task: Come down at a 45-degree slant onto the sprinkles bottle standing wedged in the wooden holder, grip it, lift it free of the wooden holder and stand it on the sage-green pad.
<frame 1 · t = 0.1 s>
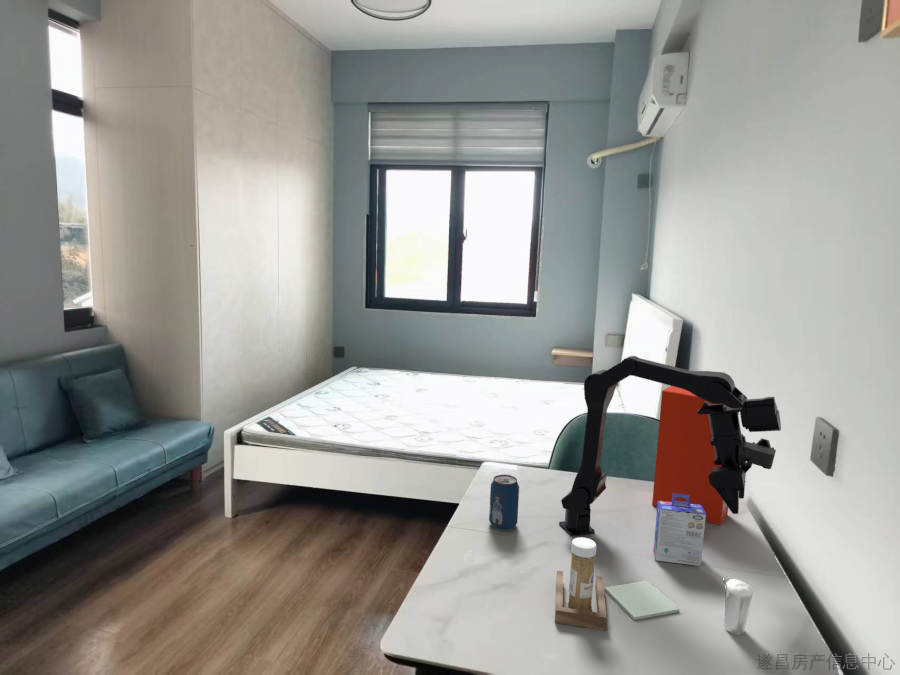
hand: (738, 505, 124), 15 cm above the table, tool pointing down, fingers open, 9 cm apart
milkshake: (731, 630, 108), on the table
sprinkles bottle: (579, 609, 113), resting in wooden holder
ink cartridge box: (676, 558, 133), on the table
pad: (640, 600, 116), on the table
soda can: (502, 526, 145), on the table
wooden holder: (579, 608, 113), on the table
red box: (688, 511, 158), on the table
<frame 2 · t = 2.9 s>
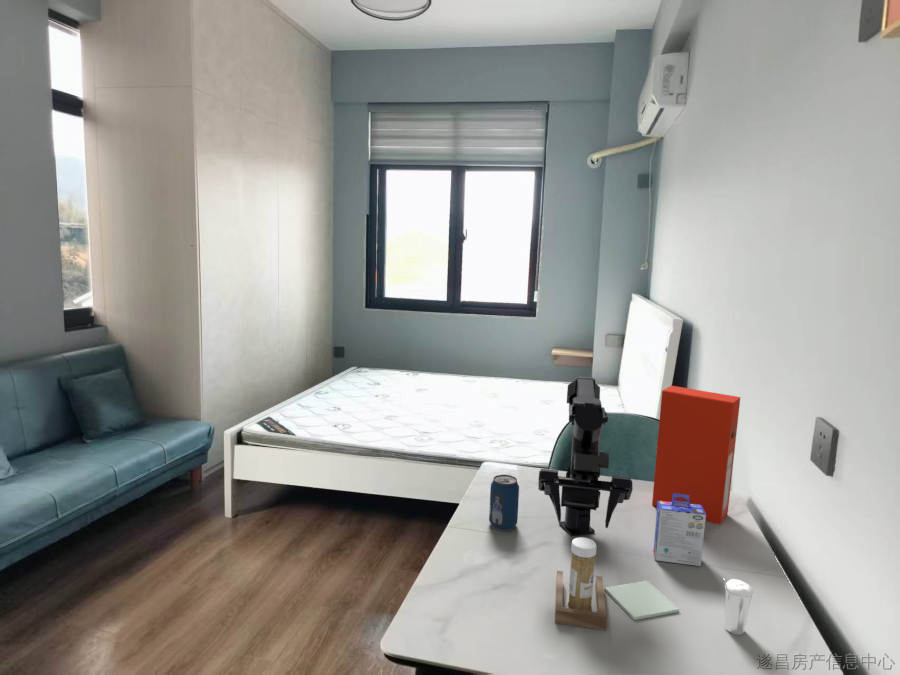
hand: (582, 524, 118), 13 cm above the table, tool tilted 45°, fingers open, 9 cm apart
nothing on the table moved.
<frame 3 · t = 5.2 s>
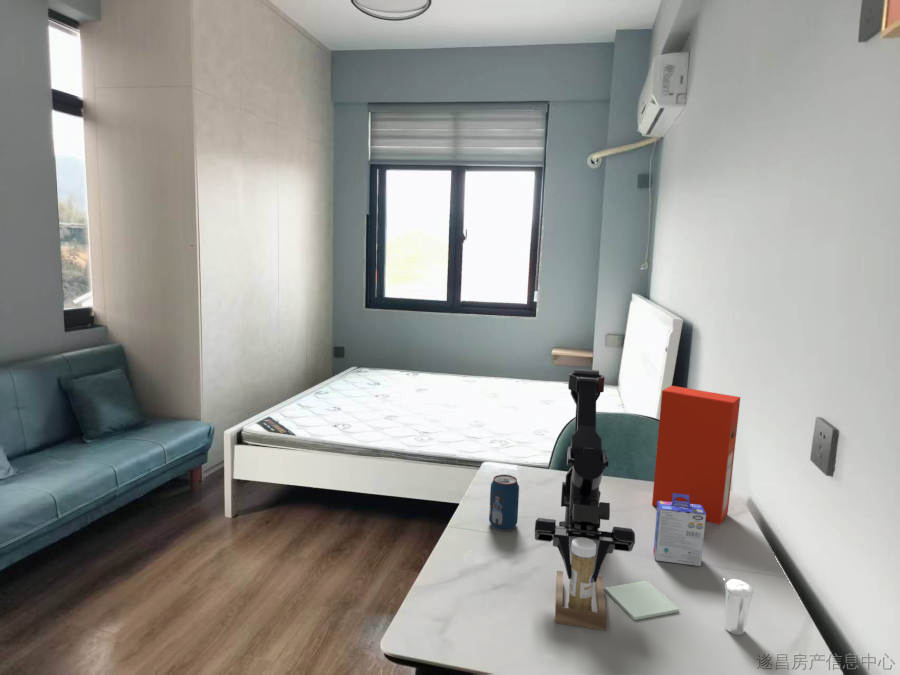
hand: (582, 580, 110), 7 cm above the table, tool tilted 45°, fingers closed on sprinkles bottle, 4 cm apart
sprinkles bottle: (579, 609, 113), resting in wooden holder, touching gripper
everything else where it was.
when the fingers open (8 cm above the table, at t = 8.4 s): sprinkles bottle stays where it is, resting on pad.
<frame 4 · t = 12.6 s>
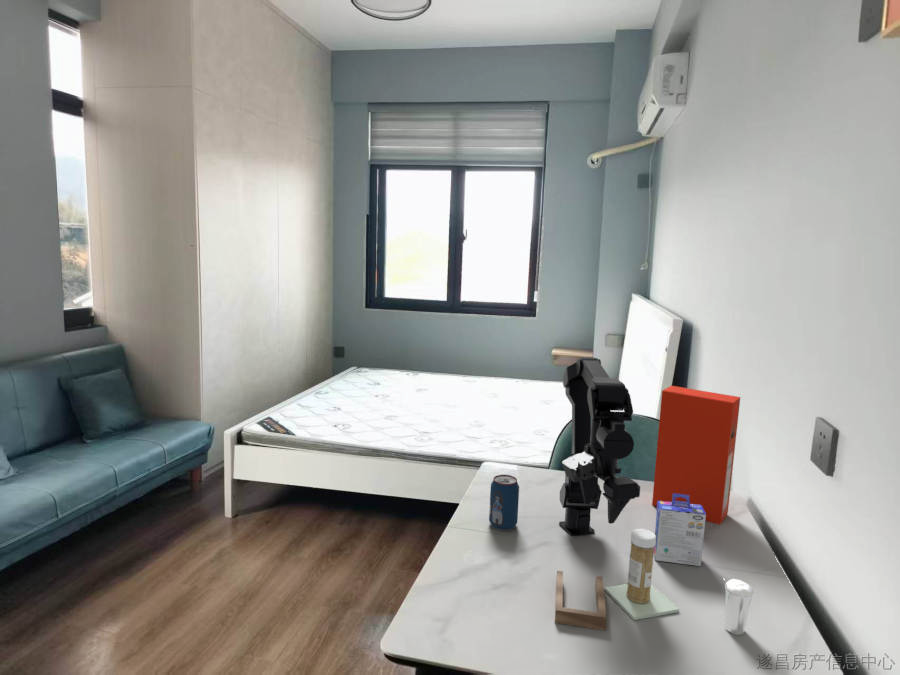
hand: (598, 513, 124), 13 cm above the table, tool pointing down, fingers open, 9 cm apart
sprinkles bottle: (637, 598, 116), resting on pad
everything else where it was.
at the end: sprinkles bottle inside the target area on the pad (0.6 cm from its centre), point 0.4 cm above the pad's base; sprinkles bottle tilted 0°; the gripper is holding nothing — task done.
